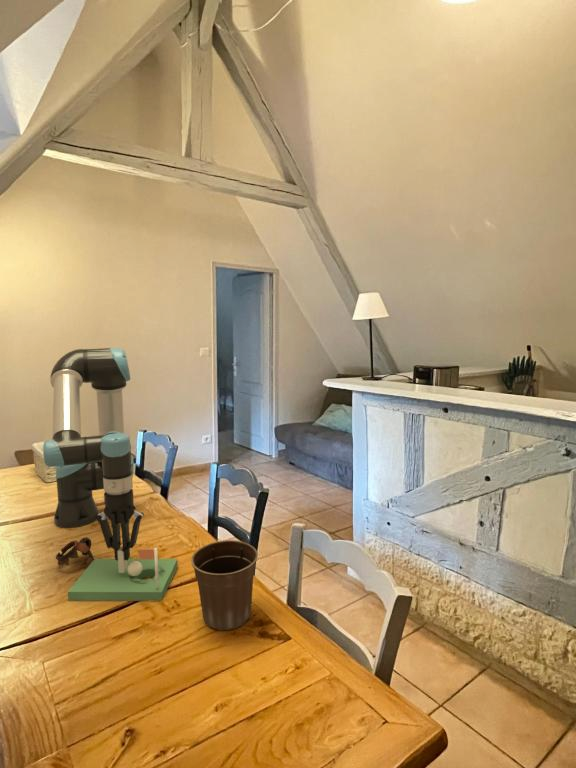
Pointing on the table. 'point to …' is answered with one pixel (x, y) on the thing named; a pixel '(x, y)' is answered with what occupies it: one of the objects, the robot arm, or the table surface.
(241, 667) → the table surface
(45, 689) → the table surface
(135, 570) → the ball
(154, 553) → the flag pin
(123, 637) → the table surface
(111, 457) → the robot arm
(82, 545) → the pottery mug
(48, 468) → the storage basket
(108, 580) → the green
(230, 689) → the table surface
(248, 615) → the plant pot
